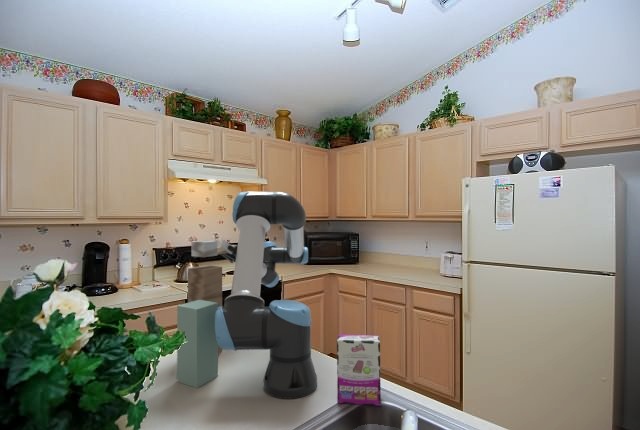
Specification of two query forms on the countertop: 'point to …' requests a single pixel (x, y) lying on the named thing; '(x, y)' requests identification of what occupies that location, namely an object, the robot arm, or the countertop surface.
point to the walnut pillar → (205, 285)
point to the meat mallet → (206, 248)
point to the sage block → (197, 343)
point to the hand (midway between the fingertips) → (217, 242)
